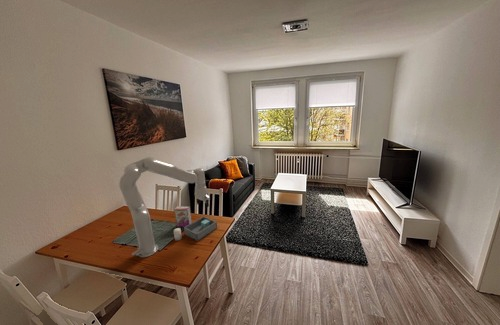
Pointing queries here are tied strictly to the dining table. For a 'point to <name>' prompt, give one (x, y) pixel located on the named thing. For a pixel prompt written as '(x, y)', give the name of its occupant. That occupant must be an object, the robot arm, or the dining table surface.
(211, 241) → the dining table surface
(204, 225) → the teal cube
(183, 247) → the dining table surface
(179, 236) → the white cylinder
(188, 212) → the candy bar box
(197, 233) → the tote
